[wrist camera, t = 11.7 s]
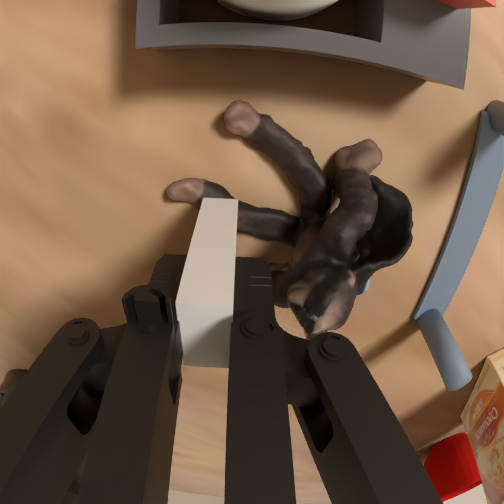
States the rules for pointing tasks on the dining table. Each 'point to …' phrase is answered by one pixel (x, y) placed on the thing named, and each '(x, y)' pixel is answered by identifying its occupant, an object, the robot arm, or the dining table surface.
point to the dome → (277, 8)
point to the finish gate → (462, 247)
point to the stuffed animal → (317, 221)
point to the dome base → (336, 36)
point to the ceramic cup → (452, 467)
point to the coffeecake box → (488, 426)
